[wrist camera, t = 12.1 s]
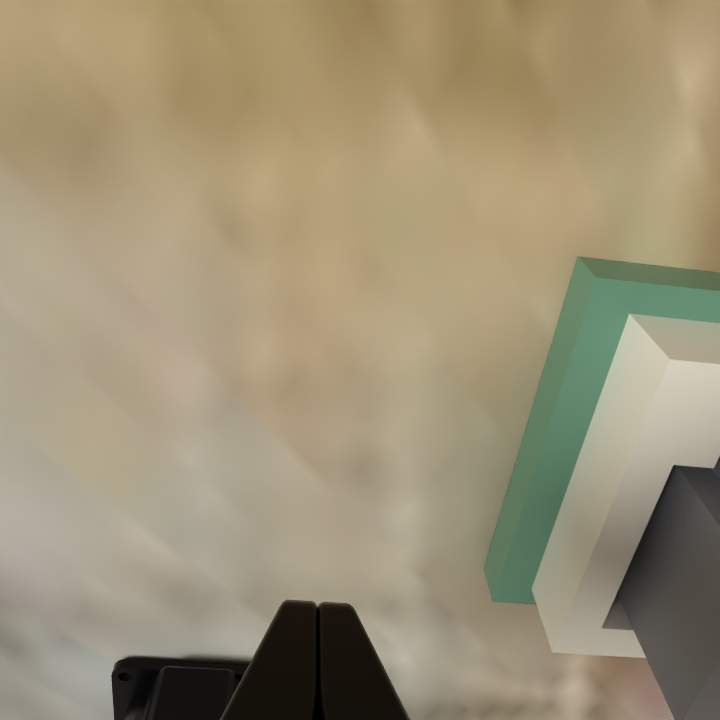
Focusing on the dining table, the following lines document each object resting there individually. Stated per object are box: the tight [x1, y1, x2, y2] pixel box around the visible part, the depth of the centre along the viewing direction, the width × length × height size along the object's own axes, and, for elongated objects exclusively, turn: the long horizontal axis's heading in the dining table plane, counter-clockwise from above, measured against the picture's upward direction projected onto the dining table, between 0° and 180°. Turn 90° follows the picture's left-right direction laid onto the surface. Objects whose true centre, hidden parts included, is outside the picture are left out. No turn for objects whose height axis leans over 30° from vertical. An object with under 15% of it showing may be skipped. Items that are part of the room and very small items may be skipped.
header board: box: [484, 257, 720, 658], centre depth 21 cm, size 12×10×4 cm
